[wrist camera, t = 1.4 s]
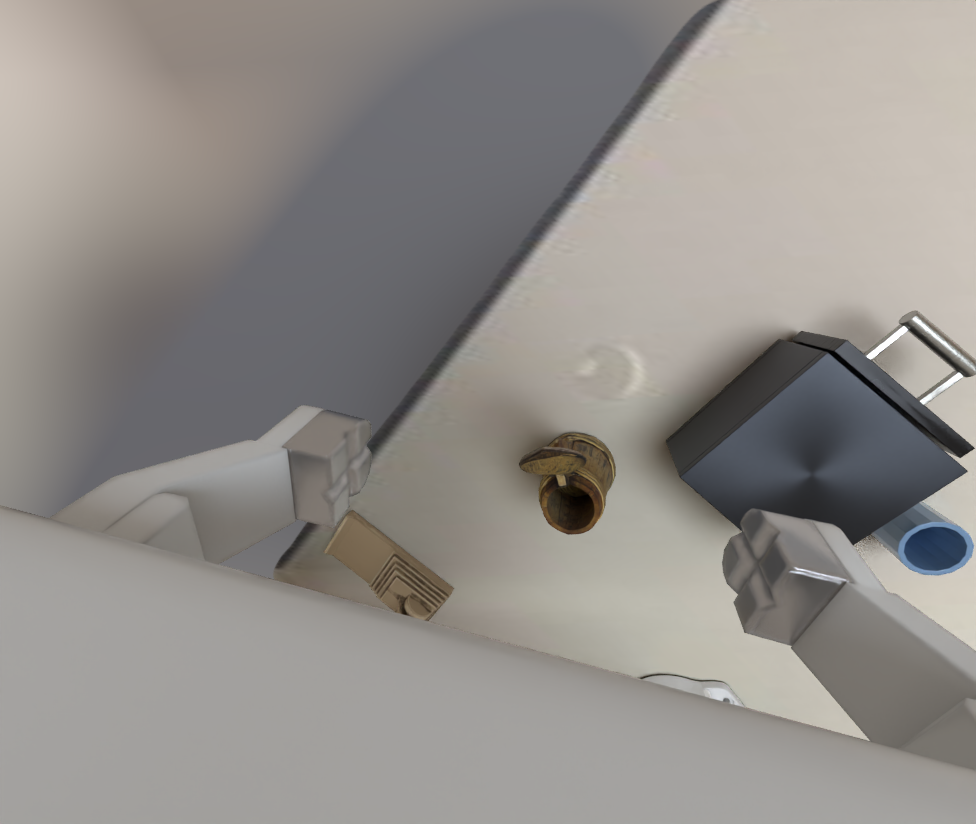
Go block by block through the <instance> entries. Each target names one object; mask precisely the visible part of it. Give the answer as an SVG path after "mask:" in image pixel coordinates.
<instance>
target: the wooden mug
mask: <svg viewBox="0 0 976 824" xmlns="http://www.w3.org/2000/svg"><path fill="white" fill-rule="evenodd" d="M519 466H520V468H521V469H522V470H523V471H525V472H528V473H533V474H542V475H543V479H542V480H541V482H540V486H539V502H540V505H541V508H542V510H543V514H544V517H545V518H546V520H547V522H548V523H549V524H550V525H551V526H552V527H554V528H555V529H557V530H559V531H561V532H563V533H566V534H581V533H584V532H587V531H589V530H590V529H591V528H592V527H593V526H594V525H595V523H597V521H598V520H599V519H600V518H601V516H602V514H603V511H604V508H605V501H606V494H607V492H608V490H609V489H610V487H611V485H612V483H613V481H614V478H615V470H616V467H615V463H614V459H613V456H612V454H611V452H610V451H609V449H608V448H607V447H606V446H605V444H604V443H602V442H601V441H600V440H598V439H597V438H595V437H593V436H590V435H586V434H580V433H568V434H564V435H562V436H560V437H559V438H557V439H555V440H554V441H553V442H552V443H551V444H550V445H549V446H548V447H542V448H539V449H537V450H535V451H533V452H531V453H529V454H527V455H525V456H524V457H523V458H522V459H521V461H520V463H519Z"/></svg>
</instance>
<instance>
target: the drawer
mask: <svg viewBox="0 0 976 824" xmlns="http://www.w3.org/2000/svg"><path fill="white" fill-rule="evenodd" d="M899 324H901V325H899V326H898V327H897V328H895V329H894V330H893V331H892V332H890V333H889V334H888V335H887V336H885V337H884V338H883V339H882V340H881V341H879V342H878V343H877V344H876V345H874V346H873V347H872V348H871V349H869V350H868V351H867V352H866V353H865V354H863V353H862V352H861V351H859V350H858V349H857V348H856V347H855V346H854V345H852V344H851V343H850V342H849V341H848V340H844V339H839V338H834V337H829V336H824V335H819V334H814V333H809V332H804V331H801V332H800V333H799V334H798V335H796V336H795V337H794V338H793V339H792V341H793V342H795V343H796V344H798V345H802V346H806V347H809V348H813V349H816V350H820V351H824V352H828V353H829V354H830V355H832V356H833V357H834V358H835V359H836V360H837V361H839V362H840V363H841V364H842V365H843V366H845V367H846V368H847V369H848V370H849V371H850V372H852V373H853V374H854V375H855V376H856V377H858V378H859V379H860V380H861V381H862V382H863V383H865V384H866V385H867V386H868V387H869V388H870V389H872V390H873V391H874V392H875V393H876V394H878V395H879V396H880V397H881V398H882V399H883V400H885V401H886V402H887V403H888V404H889V405H891V406H892V407H893V408H894V409H895V410H896V411H898V412H899V413H900V414H901V415H902V416H903V417H905V418H906V419H907V420H908V421H909V422H911V423H912V424H913V425H914V426H915V427H916V428H918V429H919V430H920V431H921V432H922V433H924V434H925V435H926V436H927V437H928V438H929V439H931V440H932V441H933V442H934V443H935V444H936V445H938V446H939V447H940V448H941V449H942V450H944V451H946V452H949V453H951V454H953V455H955V456H957V457H959V458H961V457H963V456H964V455H966V454H967V453H969V452H970V451H972V450H973V449H975V448H974V447H973V446H972V445H971V444H969V443H968V442H967V441H966V440H965V439H963V438H962V437H961V436H960V435H959V434H958V433H956V432H955V431H954V430H953V429H952V428H950V427H949V426H948V425H947V424H946V423H945V422H943V421H942V420H941V419H940V418H939V417H937V416H936V415H935V414H934V413H933V412H932V411H930V410H929V409H928V408H927V407H926V406H924V405H926V404H927V403H928V402H930V401H931V400H932V399H934V398H935V397H937V396H938V395H939V394H941V393H942V392H944V391H945V390H946V389H948V388H949V387H950V386H952V385H953V384H955V383H956V382H957V381H959V380H960V379H961V378H963V377H971V376H973V375H976V360H975V359H974V358H973V357H972V356H971V355H969V354H968V353H967V352H966V351H965V350H963V349H962V348H961V347H960V346H959V345H958V344H956V343H955V342H954V341H953V340H952V339H950V338H949V337H948V336H947V335H946V334H944V333H943V332H942V331H941V330H940V329H938V328H937V327H936V326H935V325H934V324H933V323H931V322H930V321H929V320H928V319H927V318H925V317H924V316H923V315H922V314H921V313H919V312H918V311H912V312H909V313H907V314H906V315H904V316H903V317H902V318H901V319H900V320H899ZM907 331H909V332H910V333H911V334H913V335H914V336H915V337H916V338H917V339H918V340H920V341H921V342H922V343H923V344H924V345H926V346H927V347H928V348H929V349H930V350H932V351H933V352H934V353H935V354H936V355H937V356H939V357H940V358H941V359H942V360H943V361H945V362H946V363H947V364H948V365H949V366H951V367H952V368H953V369H954V370H955V371H953V372H952V373H951V374H949V375H948V376H947V377H945V378H944V379H943V380H941V381H940V382H938V383H937V384H936V385H934V386H933V387H932V388H930V389H929V390H928V391H926V392H925V393H924V394H922V395H921V396H919V397H918V398H917V399H916V398H915V397H914V396H913V395H911V394H910V393H909V392H908V391H907V390H906V389H904V388H903V387H902V386H901V385H900V384H898V383H897V382H896V381H895V380H894V379H893V378H891V377H890V376H889V375H888V374H887V373H885V372H884V371H883V370H882V369H881V368H880V367H878V366H877V365H876V364H875V363H874V362H872V361H871V360H872V359H873V358H874V357H876V356H877V355H878V354H879V353H881V352H882V351H883V350H884V349H886V348H887V347H888V346H889V345H891V344H892V343H893V342H894V341H896V340H897V339H898V338H899V337H901V336H902V335H903V334H904V333H906V332H907Z"/></svg>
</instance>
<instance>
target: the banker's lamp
mask: <svg viewBox="0 0 976 824" xmlns="http://www.w3.org/2000/svg"><path fill="white" fill-rule="evenodd" d="M324 553H325V554H329V555H333V556H334V557H335V558H337V559H338V560H339V561H341V562H342V563H343V564H344V565H346V566H347V567H348V568H350V569H351V570H352V571H353V572H355V573H356V574H357V575H358V576H360V577H361V578H362V579H364V580H365V581H366V582H367V583H369V587H371V590H373V591H374V593H375V594H376V595H377V596H376V597H377V598H378V599H380V600H381V601H382V602H383V603H384V604H386V605H387V606H388V607H389V608H391V609H392V610H393V611H395V612H396V613H399V614H403V615H407V616H410V617H414V618H418V619H421V620H425V621H429V620H430V619H431V618H432V616H433V615H434V614H435V613H436V612H437V611H438V609H439V608H440V607H441V606H442V605H443V603H444V602H445V601H446V600H447V599H448V598H449V596H450V595H451V593H452V591H453V589H454V588H453V587H451V586H450V585H449V584H448V583H446V582H445V581H444V580H442V579H441V578H440V577H438V576H437V575H436V574H435V573H433V572H432V571H431V570H429V569H428V568H427V567H426V566H424V565H423V564H422V563H420V562H419V561H418V560H416V559H415V558H414V557H413V556H411V555H410V554H409V553H407V552H406V551H405V550H404V549H402V548H401V547H400V546H398V545H397V544H396V543H395V542H393V541H392V540H391V539H389V538H388V537H387V536H385V535H384V534H383V533H382V532H380V531H379V530H378V529H376V528H375V527H374V526H373V525H371V524H370V523H369V522H367V521H366V520H365V519H363V518H362V517H361V516H360V515H358V514H357V513H356V512H354V511H353V510H352V511H351V512H350V513H349V514H347V515H346V517H345V518H344V520H343V521H342V523H341V525H340V526H339V528H338V529H337V531H336V533H335V534H334V536H333V538H332V539H331V541H330V542H329V544H328V546H327V547H326V549H325V550H324Z"/></svg>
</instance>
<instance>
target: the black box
mask: <svg viewBox="0 0 976 824" xmlns="http://www.w3.org/2000/svg"><path fill="white" fill-rule="evenodd" d="M666 442H667V445H668V448H669V450H670V453H671V455H672V458H673V460H674V463H675V466H676V468H677V471H678V473H679V476H680V478H681V479H682V480H684V481H685V482H686V483H687V484H688V485H689V486H691V487H692V488H693V489H694V490H695V491H696V492H697V493H699V494H700V495H701V496H702V497H703V498H704V499H706V500H707V501H708V502H709V503H710V504H711V505H712V506H714V507H715V508H716V509H717V510H718V511H719V512H721V513H722V514H723V515H724V516H725V517H726V518H727V519H729V520H730V521H731V522H732V523H733V524H734V525H736V526H737V527H738V528H739V529H740V530H741V531H742V532H743V530H742V527H741V524H740V522H741V520H742V518H743V517H744V515H745V514H746V513H747V512H748V511H749V510H750V509H752V508H754V509H759V510H764V511H768V512H773V513H778V514H782V515H787V516H792V517H796V518H801V519H809V520H814V521H819V522H824V523H829V524H833V525H835V526H836V527H838V528H840V529H841V530H842V531H843V533H844V534H845V535H846V537H847V538H848V540H849V541H850V542H851V544H852V545H854V544H856V543H857V542H859V541H860V540H862V539H863V538H865V537H867V536H868V535H870V534H871V533H873V532H874V531H876V530H877V529H879V528H881V527H882V526H884V525H885V524H887V523H888V522H890V521H892V520H893V519H895V518H896V517H898V516H899V515H901V514H902V513H904V512H906V511H907V510H909V509H910V508H912V507H913V506H915V505H916V504H918V503H920V502H921V501H923V500H924V499H926V498H927V497H929V496H930V495H932V494H934V493H935V492H937V491H938V490H940V489H941V488H943V487H945V486H946V485H948V484H949V483H951V482H952V481H954V480H955V479H957V478H959V477H960V476H962V475H963V474H965V473H966V472H968V471H967V470H966V469H965V468H964V467H962V466H961V465H960V464H959V463H958V462H957V461H955V460H954V459H953V458H952V457H951V456H949V455H948V454H947V453H946V452H945V451H944V450H942V449H941V448H940V447H939V446H938V445H936V444H935V443H934V442H933V441H932V440H931V439H929V438H928V437H927V436H926V435H925V434H924V433H922V432H921V431H920V430H919V429H918V428H916V427H915V426H914V425H913V424H912V423H911V422H909V421H908V420H907V419H906V418H905V417H903V416H902V415H901V414H900V413H899V412H898V411H896V410H895V409H894V408H893V407H892V406H891V405H889V404H888V403H887V402H886V401H885V400H883V399H882V398H881V397H880V396H879V395H878V394H876V393H875V392H874V391H873V390H872V389H870V388H869V387H868V386H867V385H866V384H865V383H863V382H862V381H861V380H860V379H859V378H858V377H856V376H855V375H854V374H853V373H852V372H850V371H849V370H848V369H847V368H846V367H845V366H843V365H842V364H841V363H840V362H839V361H837V360H836V359H835V358H834V357H833V356H832V355H830V354H829V353H828V352H824V351H820V350H816V349H813V348H809V347H806V346H802V345H798V344H795V343H791V342H788V341H784V340H780V339H779V340H778V341H777V342H776V343H774V344H773V345H772V346H771V347H770V348H769V349H768V350H767V351H766V352H764V353H763V354H762V355H761V356H760V357H759V358H758V359H757V360H755V361H754V362H753V363H752V364H751V365H750V366H749V367H748V368H747V369H745V370H744V371H743V372H742V373H741V374H740V375H739V376H738V377H737V378H735V379H734V380H733V381H732V382H731V383H730V384H729V385H728V386H726V387H725V388H724V389H723V390H722V391H721V392H720V393H719V394H718V395H716V396H715V397H714V398H713V399H712V400H711V401H710V402H709V403H708V404H706V405H705V406H704V407H703V408H702V409H701V410H700V411H699V412H698V413H696V414H695V415H694V416H693V417H692V418H691V419H690V420H689V421H687V422H686V423H685V424H684V425H683V426H682V427H681V428H680V429H679V430H677V431H676V432H675V433H674V434H673V435H672V436H671V437H670V438H669V439H667V440H666Z"/></svg>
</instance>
